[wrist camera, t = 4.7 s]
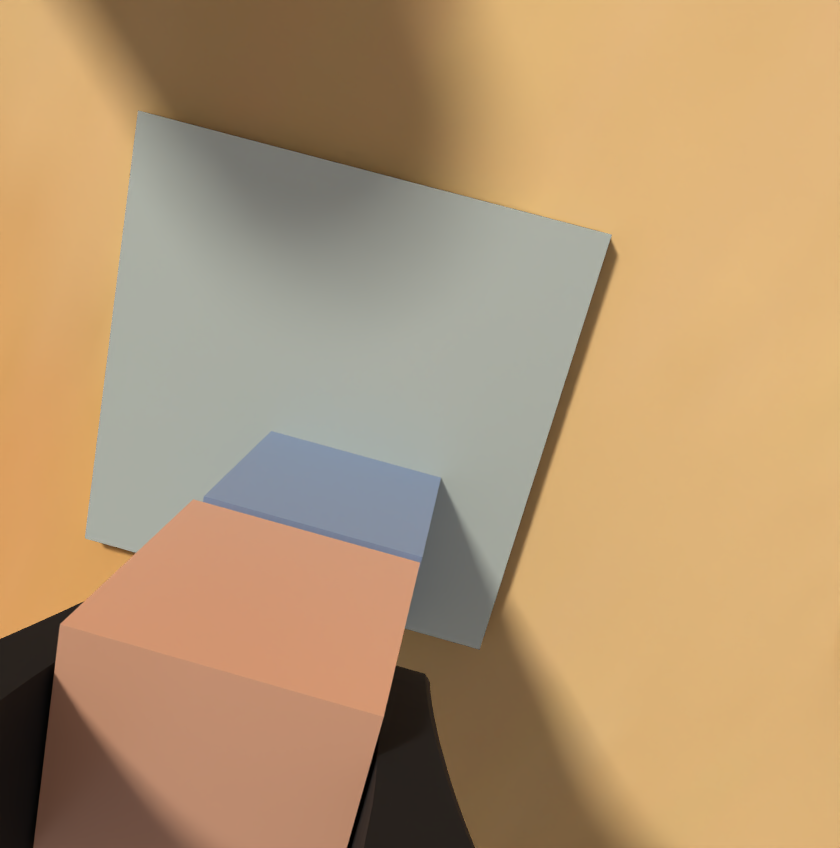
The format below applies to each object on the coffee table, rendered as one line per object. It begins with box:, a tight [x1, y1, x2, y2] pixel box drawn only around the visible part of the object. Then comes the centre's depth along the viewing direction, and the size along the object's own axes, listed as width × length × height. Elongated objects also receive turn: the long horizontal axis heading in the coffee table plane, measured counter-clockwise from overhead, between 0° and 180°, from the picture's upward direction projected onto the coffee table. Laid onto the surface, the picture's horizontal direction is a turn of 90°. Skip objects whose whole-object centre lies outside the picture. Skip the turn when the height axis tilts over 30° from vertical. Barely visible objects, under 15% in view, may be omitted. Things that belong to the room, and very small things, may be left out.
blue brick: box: [203, 431, 441, 579], centre depth 16 cm, size 4×4×4 cm
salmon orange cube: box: [33, 499, 420, 848], centre depth 11 cm, size 4×4×4 cm
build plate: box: [85, 111, 612, 650], centre depth 17 cm, size 10×10×1 cm
